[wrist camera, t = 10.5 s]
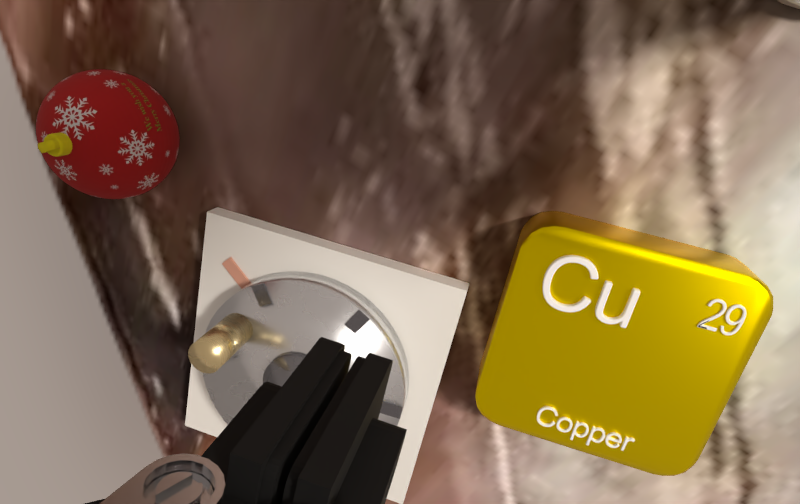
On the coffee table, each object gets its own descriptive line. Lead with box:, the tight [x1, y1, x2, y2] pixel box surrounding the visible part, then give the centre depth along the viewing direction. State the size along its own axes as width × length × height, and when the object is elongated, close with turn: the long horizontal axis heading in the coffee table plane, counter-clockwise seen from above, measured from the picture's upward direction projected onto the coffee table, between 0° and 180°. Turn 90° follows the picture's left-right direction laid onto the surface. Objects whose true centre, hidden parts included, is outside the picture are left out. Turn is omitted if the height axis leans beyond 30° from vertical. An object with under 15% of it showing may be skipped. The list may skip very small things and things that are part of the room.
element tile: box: [475, 211, 773, 476], centre depth 37 cm, size 15×15×5 cm
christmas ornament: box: [36, 69, 180, 199], centre depth 37 cm, size 9×9×10 cm
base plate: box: [185, 207, 470, 504], centre depth 44 cm, size 20×20×2 cm
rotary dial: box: [188, 271, 409, 426], centre depth 40 cm, size 16×16×6 cm
